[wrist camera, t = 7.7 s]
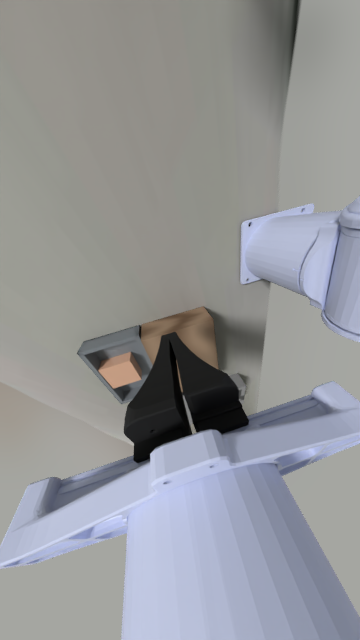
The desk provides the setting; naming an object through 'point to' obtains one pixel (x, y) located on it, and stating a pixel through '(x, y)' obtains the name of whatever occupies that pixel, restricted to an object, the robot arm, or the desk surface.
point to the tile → (120, 370)
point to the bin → (115, 346)
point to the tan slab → (183, 334)
